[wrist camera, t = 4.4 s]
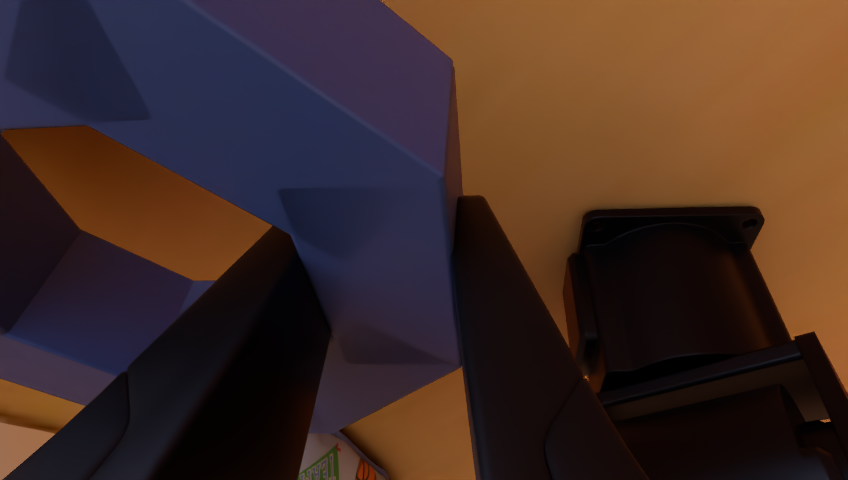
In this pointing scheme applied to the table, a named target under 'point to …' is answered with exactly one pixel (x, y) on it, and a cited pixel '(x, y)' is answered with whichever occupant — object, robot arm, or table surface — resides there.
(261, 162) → the ring
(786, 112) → the table surface
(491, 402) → the robot arm
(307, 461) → the lunch box
